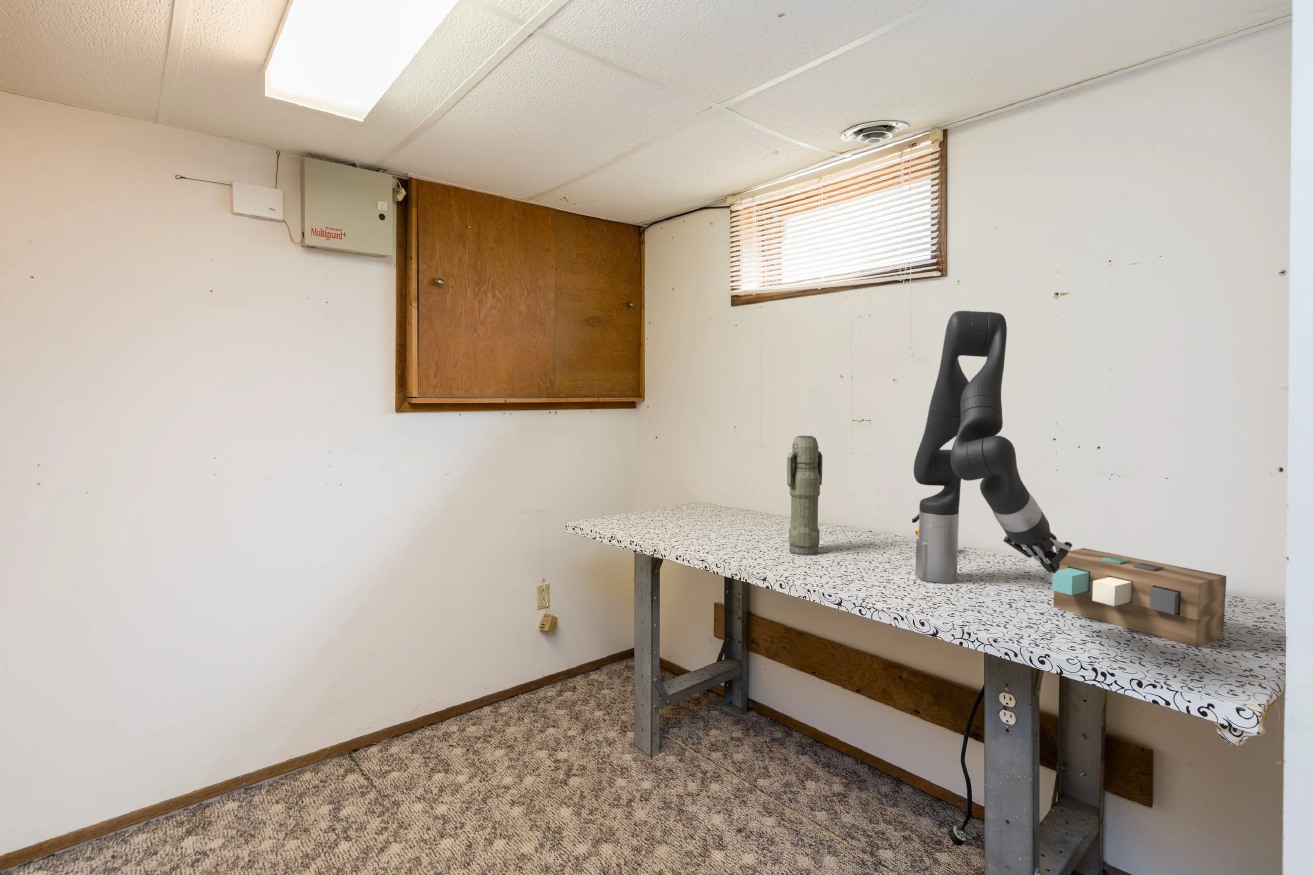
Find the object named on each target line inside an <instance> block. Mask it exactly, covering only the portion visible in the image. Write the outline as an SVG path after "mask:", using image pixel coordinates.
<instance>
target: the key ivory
mask: <svg viewBox="0 0 1313 875" xmlns="http://www.w3.org/2000/svg"><path fill="white" fill-rule="evenodd" d="M1132 594H1133V581H1131V580H1127V579H1122V578H1118V577H1113V576H1112V577H1108V578H1103V579H1099V580H1095V581H1093V595H1092V601H1096V602H1100V603H1104V604H1108V605H1111V606H1117V605H1120V604H1124V603H1127V602H1131V601H1132Z"/></svg>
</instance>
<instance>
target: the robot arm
mask: <svg viewBox="0 0 1313 875" xmlns="http://www.w3.org/2000/svg"><path fill="white" fill-rule="evenodd" d="M1007 336H1008V326H1007V321H1006V318H1005V315H1003V314H1002V313H999V312H994V311H978V310H977V311H975V310H973V311H971V310H957V311H954V312H953V313H952V314H951V315H950V317H949V319H948V322H947V325H946V329H945V334H944V339H943V346H942V351H941V359H940V365H939V369H938V374H937V377H936V381H935V385H934V388H933V393H932V395H931V400H930V404H929V406H928V407H929V408H928V413H927V418H926V423H925V427H924V432H923V435H922V437H921V441H920V443H919V447H918V449H917V451H916V455H915V458H914V462H913V476H914V480H915V481H916V482H917V484H920V485H924V486H932V487H933V486H938V487H939V486H942V487H943V488H942V489H941V491H939V492H938V493H936V494H934V495H931V496H929V497H925V498H923V499H921V500H920V502H919V508H918V509H919V513H918V514H919V520H918V521H919V522H918V529H919V538H916V540H915V576H916V577H917V578H918V579H920V580H921V581H923V582H924V581H925V582H931V583H938V584H939V583H940V584H950V583H956V582H957V581H958V561H959V560H958V558H959V556H958V555H959V553H958V552H959V550H958V549H959V526H960V525H959V523H960V522H959V519H960V515H959V514H960V501H961V498H960V497H961V485H962V480H963V481H968V482H969V481H977V480H980V479H982V480H981V481H980V483H979V490H980V493H981V496H983V498H984V499H985V502H986V503H987V504H988V506H989V507H990V510H992V513H993V515H994V518H995V519H996V520H997V522H998V524H999V525H1000V527H1001V529H1003V531H1004V533H1005V537H1004V539H1003V542H1004V543H1006V545H1008V546H1010V547H1011V548H1013V549H1015V550H1016V551H1018V552H1019V553H1020V554H1022V555H1024V556H1025V557H1027V558H1029V559H1030V558H1032V557H1033V558H1034V560H1035V561H1037V562H1039V563H1040V565H1041V566H1042V568H1043V569H1045V571H1046V572H1047V573H1049V572H1051V573H1056V572H1057V571H1058V569H1059V567H1060V564H1059V562H1060V561H1061V560H1062V559H1064V558H1065V557H1066V556H1067V554H1068V552H1069V551H1071V548H1072V546H1073V543H1071V542H1069V541H1065V542H1064V543H1061V541H1059V540H1058V538H1057V536H1056V535H1055V534H1053V533H1052V532H1051V527H1050V523H1049V521H1048V519H1047V517H1046V515H1045V514H1044V512H1043V510H1042V508H1041V507H1040V506H1039V504H1038V502H1037V501H1036V499H1035V498H1034V497H1033V496H1032V494H1031V493H1030V492H1029V491H1028V489H1027V487H1026V485H1025V484H1024V482H1023V481H1022V479H1021V476H1020V473H1019V469H1018V462H1017V454H1016V449H1015V446H1014V445H1013V443H1012V442H1011V441H1010V440H1009V439H1008V438H1006V437H1005V436H1002V435H998V434H999V433H1000V432H1001V431H1002V428H1003V424H1004V421H1003V419H1004V418H1003V405H1002V403H1003V402H1002V387H1003V386H1002V385H1003V377H1004V369H1005V368H1004V367H1005V361H1006V360H1005V359H1006V347H1007V339H1008V338H1007ZM961 356H966V357H981V358H986V361H985V363H984V365H982V368H980V370H979V371H978V372H977V373H976V374H975V375H974V376H973V378H971V380H968V378H967V377H966V375H965V373H964V371H963V370H962V367H961V365H960V360H959V357H961ZM954 438H955V439H954ZM953 439H954V442H953V444H952V446H951V447H952V448H951V449H942V447H944V446H945V445H946V444H947V443H948V442H950V441H952V440H953ZM1054 548H1055V550H1054Z"/></svg>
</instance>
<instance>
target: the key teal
mask: <svg viewBox="0 0 1313 875" xmlns="http://www.w3.org/2000/svg"><path fill="white" fill-rule="evenodd" d="M1051 590H1052V591H1053V592H1054V591H1058V592H1062V593H1065V594H1069V595H1074V594H1078V593H1082V592H1086V591H1090V571H1087V570H1082V569H1078V568H1073V567H1071V568H1067V569H1062V570H1058V571H1057V572H1056V573H1053V576H1052V583H1051Z"/></svg>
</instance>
